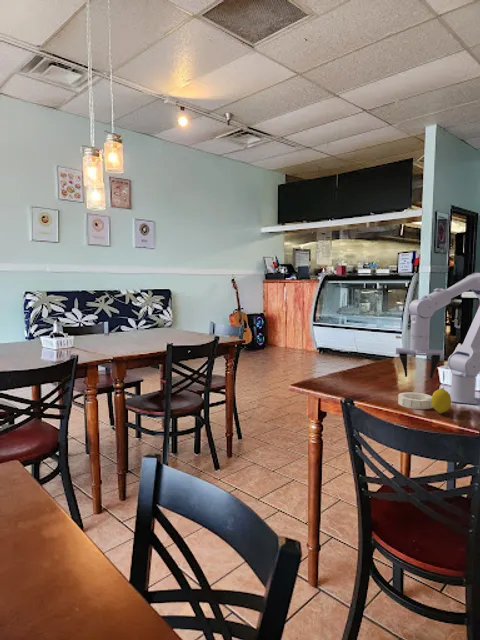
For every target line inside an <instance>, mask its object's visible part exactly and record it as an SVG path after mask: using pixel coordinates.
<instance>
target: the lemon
mask: <svg viewBox="0 0 480 640" xmlns="http://www.w3.org/2000/svg"><path fill="white" fill-rule="evenodd" d="M450 394H451V393H449V391H447V390H445V389H444V388H441V387H440V388H439V389H437V390H434V392H433V393H432V395H431V396H432V400H431V401H432V406H433V408H432V409H434V411H436V412H438V413H439V414H441V415H442V414H443V413H444V412H445V413H446V412H448V411H449V409H450V408H451V405H452V402H451V397H450Z"/></svg>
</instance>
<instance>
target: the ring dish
mask: <svg viewBox="0 0 480 640" xmlns="http://www.w3.org/2000/svg"><path fill="white" fill-rule="evenodd" d="M397 399H398V400H397V401H398V402H397V404H398V405H399V406H401V407H404V408H406V409H411V410H412V409H413V410H430V409H434V408H433V406H432V401H431V400H432V395H430V394H427V393H422V392H421V393H420V392H412V391H411V392H410V391H409V392H401V393H398V394H397Z"/></svg>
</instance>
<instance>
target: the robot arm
mask: <svg viewBox="0 0 480 640" xmlns="http://www.w3.org/2000/svg"><path fill="white" fill-rule="evenodd" d="M468 291H472V292H473V294H474V295H475V296H476V297H477V298H478V299H479V301H480V272H473V273H471V274H469V275H467V276H465V278H463V279H461V280H459V281H457V282H456V283H455V284H453V285H451V286H449V287H448V288H446V289H445V288H439V287H437V288H435V289H433V292H431V293H429V294H426V295H422V296H421V298H420V299H414V300H412V301H410V303H409V305H408V307H407V313H408V314H409V316H410V341H409V342H410V343H409V345H410V347H396V348H395V355H398V356H399V359H400V362H401V364H402V366H403V370H404V371H403V372H404V377H406V378H407V377H408V356H422V357H423V356H425V357H426V356H427V357H430V371H429V379H433V378H434V377H433V376H434V372H435V370H436V367H437V365H438V363H439V362H440V359H441V358H443V357H444V356H445V355H444V354H445V351H444V349H432V348H430V328H431V327H430V326H431V325H430V324H431V317H432V316H433V315H434V314H435V312H436V311H438V310H440V309H441V308H443V307H445V306H448V305H449V304H451V302H452V299H453V298H455V297H457V296H459V295H462V294H463V293H465V292H468ZM474 315H475V316H474V318H473V319H472V322H471V325H470V327H469V329H468V331H467V334H466V335H465V338H464V341H463V343H462V344H461V345H459V346H458V347H456V348H455V350H454V351H453V353H452V354H450V355H449V357H448V358H447V367H448V368H449V370H450V373H451V384H450V385H451V386H450V387H451V389H450V393H449V394H450V397H451V403H458V404H459V403H461V404H470V405H471V404H473V405H478V401H477V399H476V377H478V374H480V305H479V307H478V309H477V311H476V313H475V314H474Z"/></svg>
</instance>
